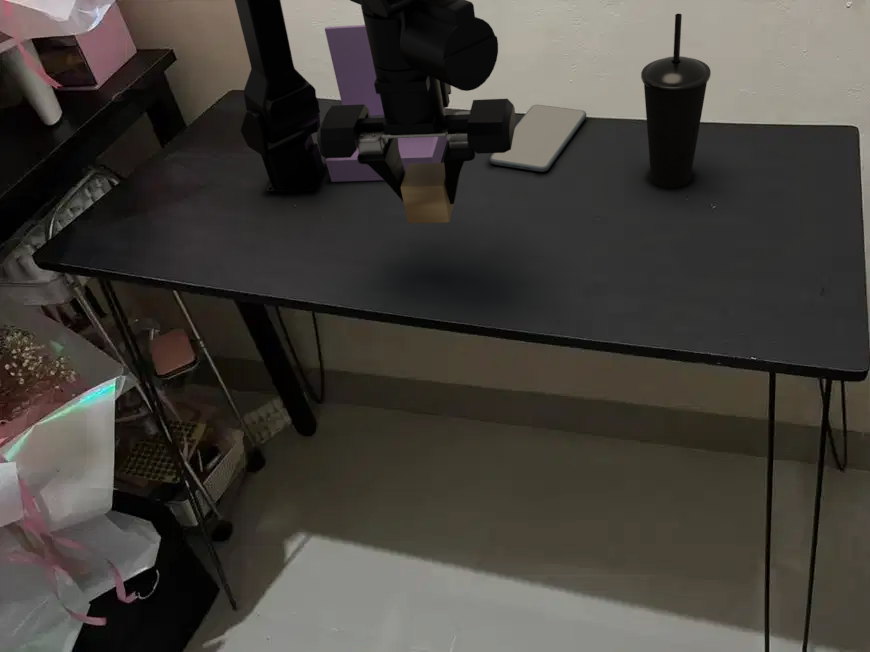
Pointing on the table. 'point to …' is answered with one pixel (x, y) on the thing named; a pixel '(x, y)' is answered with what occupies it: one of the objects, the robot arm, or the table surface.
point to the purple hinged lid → (354, 67)
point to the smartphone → (540, 137)
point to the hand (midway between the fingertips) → (430, 202)
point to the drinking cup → (674, 113)
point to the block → (426, 194)
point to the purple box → (410, 153)
